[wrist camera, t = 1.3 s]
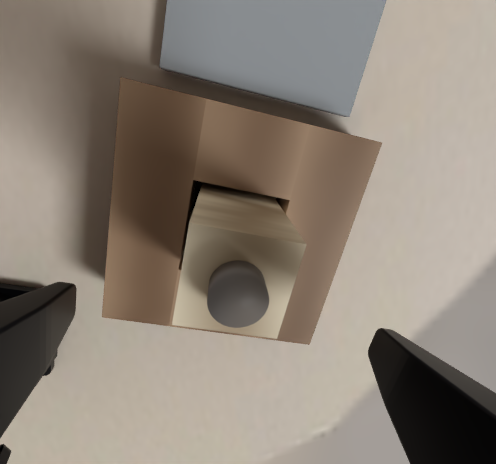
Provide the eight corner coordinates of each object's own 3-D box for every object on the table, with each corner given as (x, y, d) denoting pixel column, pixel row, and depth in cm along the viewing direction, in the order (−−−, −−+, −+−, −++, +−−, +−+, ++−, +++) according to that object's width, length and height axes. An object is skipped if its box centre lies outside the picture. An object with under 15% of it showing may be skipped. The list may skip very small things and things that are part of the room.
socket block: (119, 288, 19) (101, 317, 16) (139, 85, 15) (120, 77, 12) (297, 314, 21) (309, 344, 18) (355, 139, 17) (382, 142, 14)
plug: (192, 242, 18) (167, 344, 10) (203, 178, 17) (185, 233, 9) (255, 253, 19) (281, 357, 10) (270, 192, 18) (315, 256, 9)
